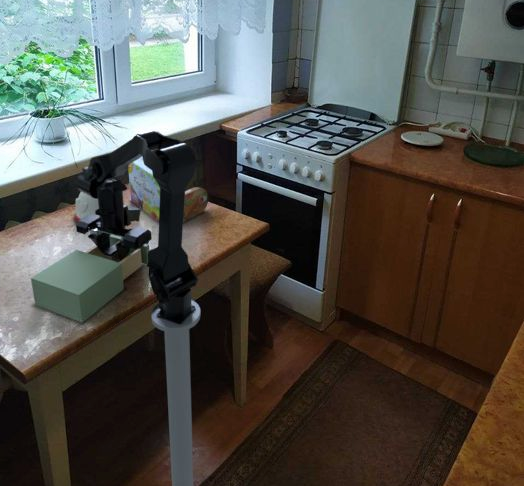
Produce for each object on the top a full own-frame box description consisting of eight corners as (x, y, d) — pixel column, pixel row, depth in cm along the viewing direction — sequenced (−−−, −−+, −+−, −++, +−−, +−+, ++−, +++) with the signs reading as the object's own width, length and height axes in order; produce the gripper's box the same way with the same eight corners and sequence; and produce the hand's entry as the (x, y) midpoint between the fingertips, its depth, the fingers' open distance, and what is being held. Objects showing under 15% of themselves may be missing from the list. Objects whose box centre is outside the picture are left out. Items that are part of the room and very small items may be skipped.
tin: (174, 226, 147) (173, 200, 143) (167, 223, 148) (166, 197, 145) (209, 209, 158) (209, 185, 155) (202, 206, 160) (201, 182, 156)
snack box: (129, 201, 161) (126, 158, 156) (144, 197, 165) (142, 154, 159) (162, 226, 147) (159, 179, 141) (178, 220, 150) (177, 174, 144)
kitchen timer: (107, 201, 160) (103, 158, 155) (132, 215, 152) (129, 170, 147) (67, 215, 151) (61, 169, 145) (92, 230, 142) (87, 182, 137)
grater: (119, 256, 126) (118, 240, 125) (128, 258, 126) (127, 243, 124) (103, 267, 121) (102, 251, 120) (112, 270, 120) (110, 254, 119)
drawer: (122, 243, 134) (120, 226, 132) (160, 254, 130) (159, 237, 128) (77, 274, 120) (74, 255, 118) (117, 288, 116) (116, 268, 114)
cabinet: (79, 274, 122) (76, 249, 119) (123, 289, 117) (121, 263, 114) (35, 304, 110) (30, 277, 108) (82, 322, 105) (78, 295, 103)
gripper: (163, 199, 121) (166, 254, 127) (103, 184, 128) (108, 238, 133) (134, 218, 111) (138, 276, 117) (71, 201, 118) (78, 257, 124)
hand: (115, 260), depth 123 cm, fingers open, 4 cm apart
